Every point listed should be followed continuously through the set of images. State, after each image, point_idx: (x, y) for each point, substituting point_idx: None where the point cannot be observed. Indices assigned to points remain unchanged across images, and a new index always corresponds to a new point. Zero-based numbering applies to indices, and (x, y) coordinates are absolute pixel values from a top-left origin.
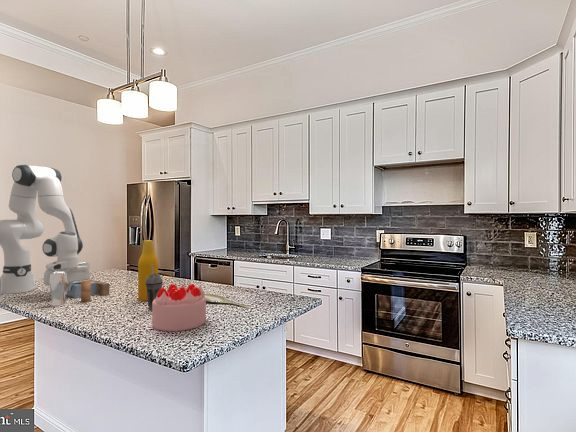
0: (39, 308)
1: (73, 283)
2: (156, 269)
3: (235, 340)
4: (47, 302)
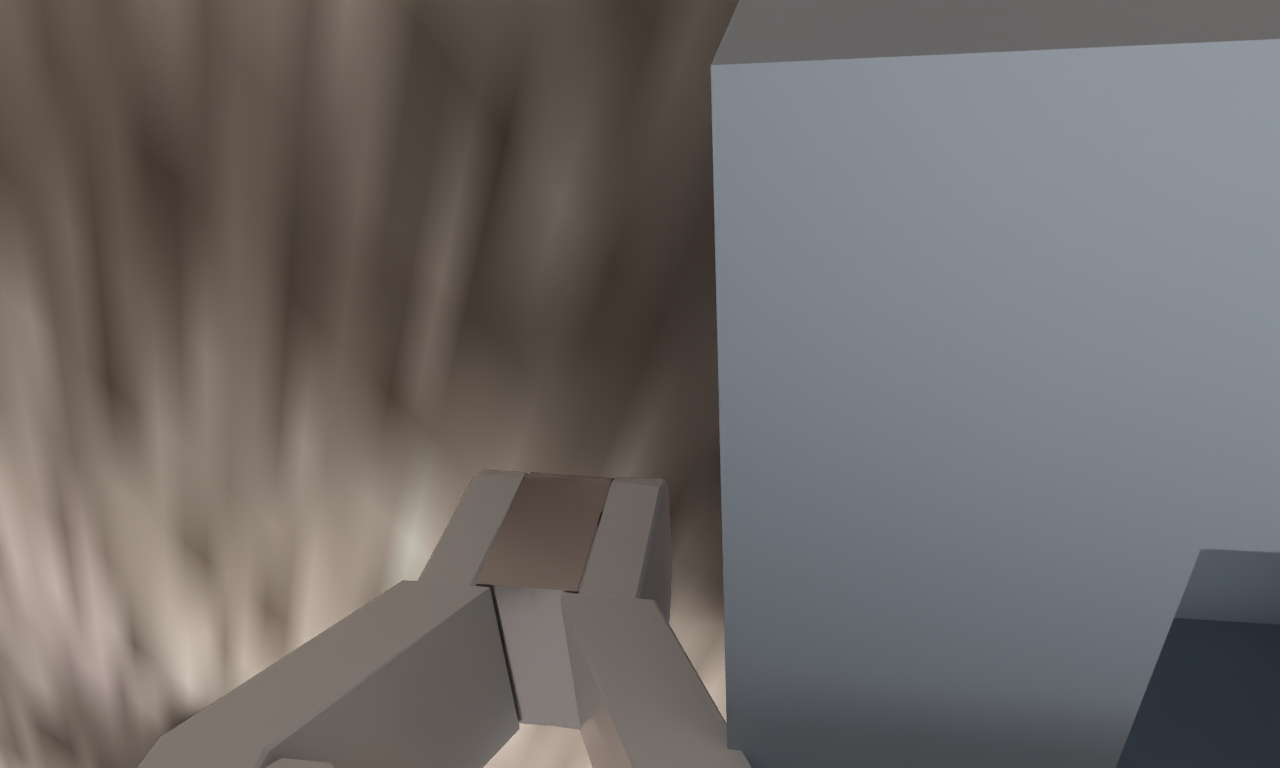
0: (14, 758)
1: (1141, 615)
2: None
3: None
4: (89, 482)
